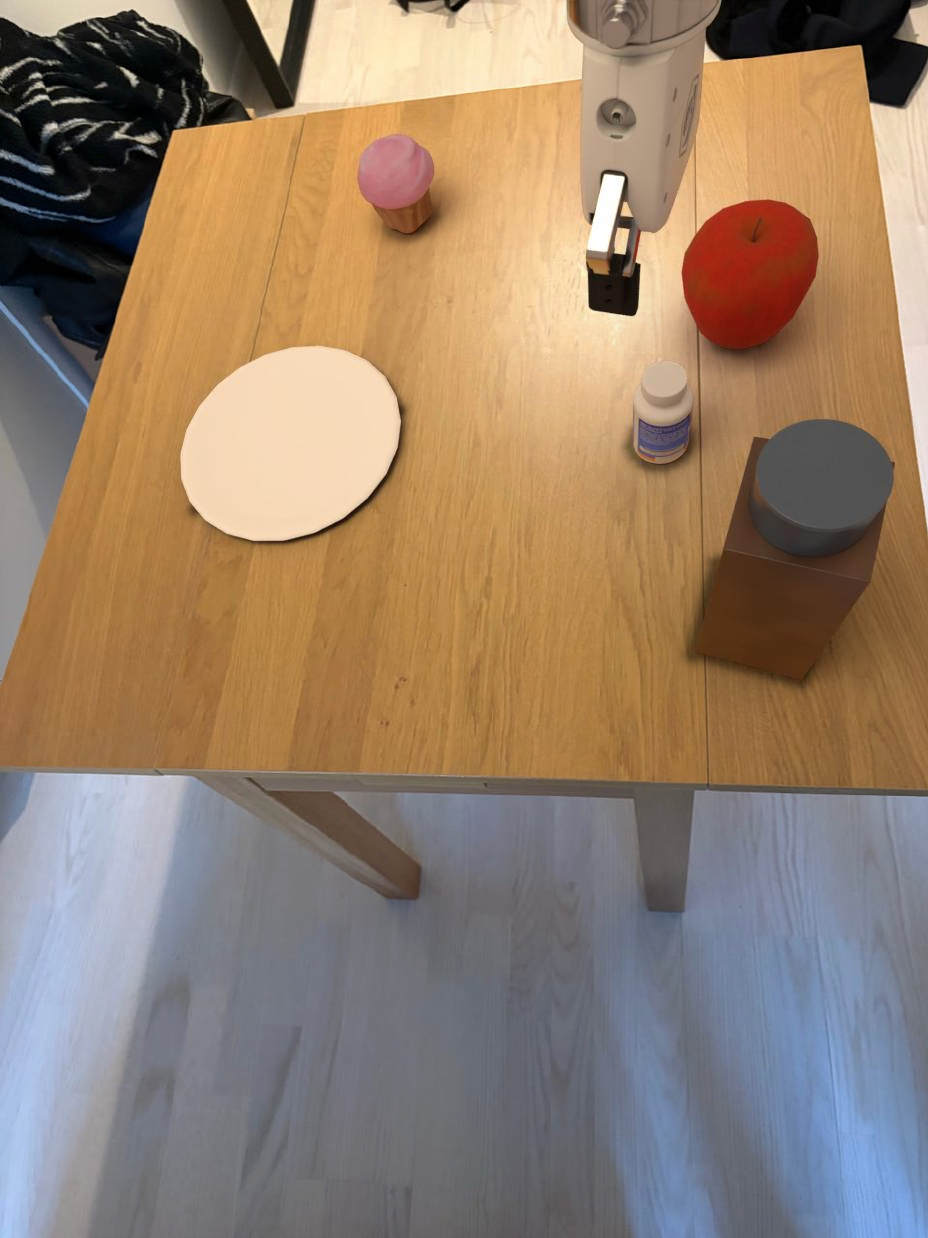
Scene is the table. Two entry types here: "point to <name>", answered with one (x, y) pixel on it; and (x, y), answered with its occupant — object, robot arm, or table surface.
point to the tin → (819, 487)
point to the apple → (749, 271)
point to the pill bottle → (662, 413)
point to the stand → (780, 593)
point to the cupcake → (397, 181)
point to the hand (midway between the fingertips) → (632, 254)
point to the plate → (290, 443)
